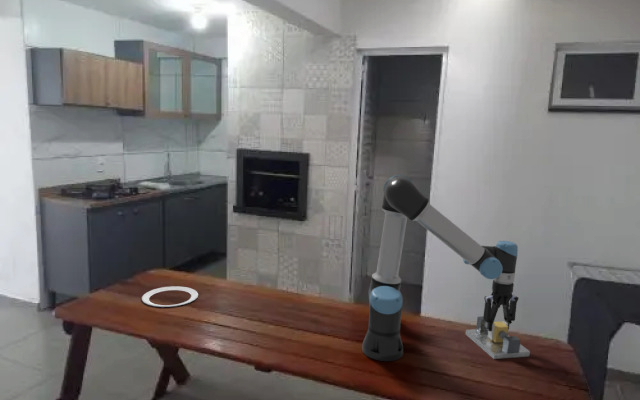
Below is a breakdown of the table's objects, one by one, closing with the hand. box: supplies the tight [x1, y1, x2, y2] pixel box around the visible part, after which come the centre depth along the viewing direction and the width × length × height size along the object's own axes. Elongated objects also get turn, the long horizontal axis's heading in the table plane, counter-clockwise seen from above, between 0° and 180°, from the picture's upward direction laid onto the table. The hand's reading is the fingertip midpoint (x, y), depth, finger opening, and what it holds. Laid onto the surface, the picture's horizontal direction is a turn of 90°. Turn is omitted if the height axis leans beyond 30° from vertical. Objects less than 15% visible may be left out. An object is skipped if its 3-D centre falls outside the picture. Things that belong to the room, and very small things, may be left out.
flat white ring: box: [141, 285, 199, 308], centre depth 211 cm, size 25×25×1 cm
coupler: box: [493, 320, 509, 342], centre depth 178 cm, size 9×5×6 cm, turn 12°
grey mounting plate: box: [465, 315, 531, 360], centre depth 178 cm, size 21×15×7 cm
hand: (496, 337), depth 178 cm, fingers closed on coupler, 5 cm apart
